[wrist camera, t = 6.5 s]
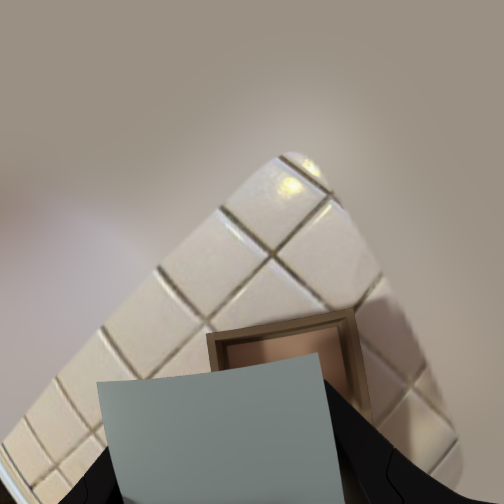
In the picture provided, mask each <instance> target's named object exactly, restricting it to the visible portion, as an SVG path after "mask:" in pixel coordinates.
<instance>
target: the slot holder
mask: <svg viewBox="0 0 504 504" xmlns="http://www.w3.org/2000/svg"><path fill="white" fill-rule="evenodd" d="M206 338H207V346H208V353H209V360H210V367H211V372H216V371H223V370H230V369H236V368H242V367H248V366H254V365H259V364H265V363H270V362H275V361H280V360H285V359H290V358H294V357H299V356H304V355H308V354H312V353H317V352H318V356H319V361H320V366H321V371H322V376H323V379H326V380H327V381H328V382H329V383H330V384H331V385H332V386H333V387H334V388H335V389H336V390H337V391H338V392H339V393H340V394H341V395H342V396H343V397H344V398H345V399H346V400H347V401H348V402H349V403H350V404H351V405H352V406H353V407H354V408H355V409H356V410H357V411H358V412H359V413H360V414H361V415H362V416H363V417H364V418H365V419H366V420H367V421H368V422H369V423H370V424H371V425H372V426H373V421H372V413H371V406H370V399H369V393H368V386H367V380H366V374H365V368H364V362H363V357H362V351H361V346H360V341H359V335H358V330H357V325H356V321H355V316H354V311H353V308H348V309H344V310H339V311H334V312H330V313H325V314H320V315H315V316H310V317H305V318H299V319H294V320H289V321H283V322H278V323H272V324H266V325H260V326H254V327H248V328H241V329H235V330H228V331H221V332H214V333H207V334H206ZM344 503H345V500H344ZM345 504H346V503H345Z"/></svg>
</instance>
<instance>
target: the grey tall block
mask: <svg viewBox="0 0 504 504" xmlns="http://www.w3.org/2000/svg"><path fill="white" fill-rule="evenodd" d="M97 389H98V395H99V402H100V408H101V413H102V419H103V424H104V429H105V434H106V438H107V443H108V447H109V451H110V455H111V459H112V463H113V467H114V471H115V474H116V478H117V482H118V485H119V488H120V492H121V495H122V498H123V501H124V504H345V503H344V496H343V489H342V483H341V476H340V470H339V464H338V458H337V452H336V446H335V440H334V434H333V429H332V423H331V418H330V412H329V407H328V402H327V396H326V391H325V386H324V381H323V376H322V371H321V366H320V361H319V356H318V352H317V353H312V354H308V355H304V356H299V357H294V358H290V359H285V360H280V361H275V362H270V363H265V364H259V365H254V366H248V367H242V368H236V369H230V370H223V371H216V372H209V373H202V374H194V375H186V376H177V377H167V378H156V379H144V380H130V381H111V382H97Z"/></svg>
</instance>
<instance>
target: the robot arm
mask: <svg viewBox="0 0 504 504" xmlns="http://www.w3.org/2000/svg"><path fill="white" fill-rule="evenodd" d="M323 381H324V386H325V391H326V396H327V402H328V407H329V412H330V418H331V423H332V429H333V434H334V440H335V446H336V452H337V458H338V464H339V470H340V476H341V483H342V489H343V496H344V500H345V503H346V504H496V503H489V502H483V501H477V500H472V499H469V498H466V497H464V496H461V495H459V494H457V493H456V492H454V491H452V490H451V489H449V488H448V487H446V486H445V485H443V484H442V483H440V482H439V481H437V480H435V479H434V478H432V477H431V476H429V475H428V474H426V473H425V472H424V471H422V470H421V469H420V468H418V467H417V466H416V465H414V464H413V463H412V462H411V461H410V460H408V459H407V458H406V457H405V456H404V455H403V454H402V453H401V452H400V451H399V450H397V449H396V448H394V446H393V445H392V444H391V443H390V442H389V441H388V440H387V439H386V438H385V437H384V436H383V435H382V434H381V433H380V432H379V431H377V430H376V429H375V428H374V427H373V426H372V425H371V424H370V423H369V422H368V421H367V420H366V419H365V418H364V417H363V416H362V415H361V414H360V413H359V412H358V411H357V410H356V409H355V408H354V407H353V406H352V405H351V404H350V403H349V402H348V401H347V400H346V399H345V398H344V397H343V396H342V395H341V394H340V393H339V392H338V391H337V390H336V389H335V388H334V387H333V386H332V385H331V384H330V383H329V382H328V381H327V380H326V379H323ZM393 448H394V449H393ZM58 504H124V501H123V498H122V495H121V492H120V488H119V485H118V482H117V478H116V474H115V471H114V467H113V463H112V459H111V455H110V451H109V447H108V446H107V447H106V448H105V450H104V451H103V452H102V453H101V455H100V456H99V457H98V458H97V460H96V461H95V462H94V463H93V464H92V466H91V467H90V468H89V469H88V471H87V472H86V473H85V474H84V476H83V477H82V478H81V479H80V480H79V481H78V483H77V484H76V485H75V486H74V487H73V488H72V490H71V491H70V492H69V493H68V494H67V495H66V496H65V497H64V498H63V499H62V500H61V501H60V502H59V503H58Z"/></svg>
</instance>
